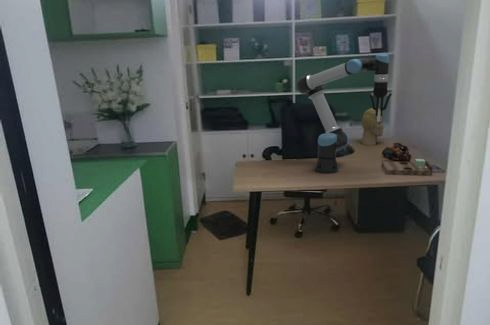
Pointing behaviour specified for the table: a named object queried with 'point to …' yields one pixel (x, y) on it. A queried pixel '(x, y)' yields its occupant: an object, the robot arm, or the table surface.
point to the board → (406, 168)
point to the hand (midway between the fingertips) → (378, 121)
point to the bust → (371, 127)
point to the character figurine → (397, 153)
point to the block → (419, 163)
